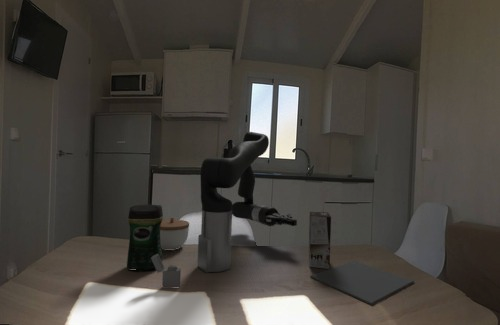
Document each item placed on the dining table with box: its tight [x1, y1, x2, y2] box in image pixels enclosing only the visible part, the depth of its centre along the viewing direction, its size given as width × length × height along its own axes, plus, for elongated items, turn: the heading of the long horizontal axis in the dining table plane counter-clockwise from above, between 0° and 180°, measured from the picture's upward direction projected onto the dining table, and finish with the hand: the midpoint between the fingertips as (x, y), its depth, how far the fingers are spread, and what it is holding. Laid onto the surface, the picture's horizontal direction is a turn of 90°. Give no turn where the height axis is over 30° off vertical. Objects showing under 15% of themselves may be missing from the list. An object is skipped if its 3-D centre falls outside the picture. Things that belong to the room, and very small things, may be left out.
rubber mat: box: [309, 260, 415, 306], centre depth 74 cm, size 22×18×1 cm
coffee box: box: [308, 211, 332, 270], centre depth 86 cm, size 9×6×16 cm
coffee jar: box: [126, 204, 164, 271], centre depth 79 cm, size 10×8×19 cm
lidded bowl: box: [160, 217, 190, 249], centre depth 98 cm, size 13×13×11 cm
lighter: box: [151, 254, 182, 288], centre depth 66 cm, size 7×2×8 cm, turn 91°
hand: (295, 223), depth 95 cm, fingers closed
